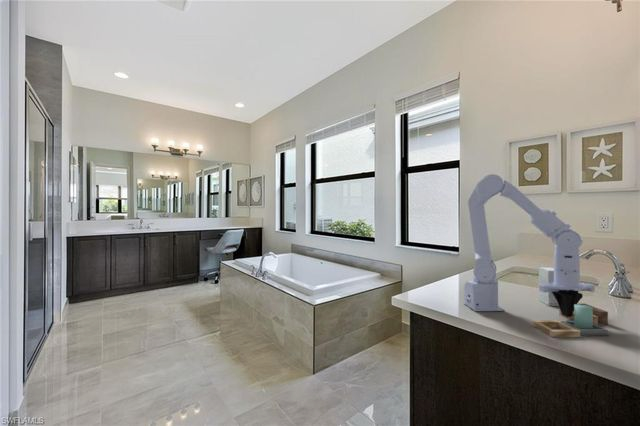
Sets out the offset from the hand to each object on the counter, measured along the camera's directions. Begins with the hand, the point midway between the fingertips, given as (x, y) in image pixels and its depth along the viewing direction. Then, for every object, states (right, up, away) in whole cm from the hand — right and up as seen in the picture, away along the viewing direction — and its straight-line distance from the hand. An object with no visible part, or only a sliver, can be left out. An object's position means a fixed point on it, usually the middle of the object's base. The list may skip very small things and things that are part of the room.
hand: (566, 315), depth 82 cm
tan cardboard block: (+3, -2, 0) cm, 4 cm away
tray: (-2, -1, -7) cm, 8 cm away
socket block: (-10, -2, -7) cm, 12 cm away
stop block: (+7, -1, 0) cm, 8 cm away
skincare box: (+7, -1, +14) cm, 15 cm away
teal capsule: (-2, -1, -8) cm, 8 cm away
